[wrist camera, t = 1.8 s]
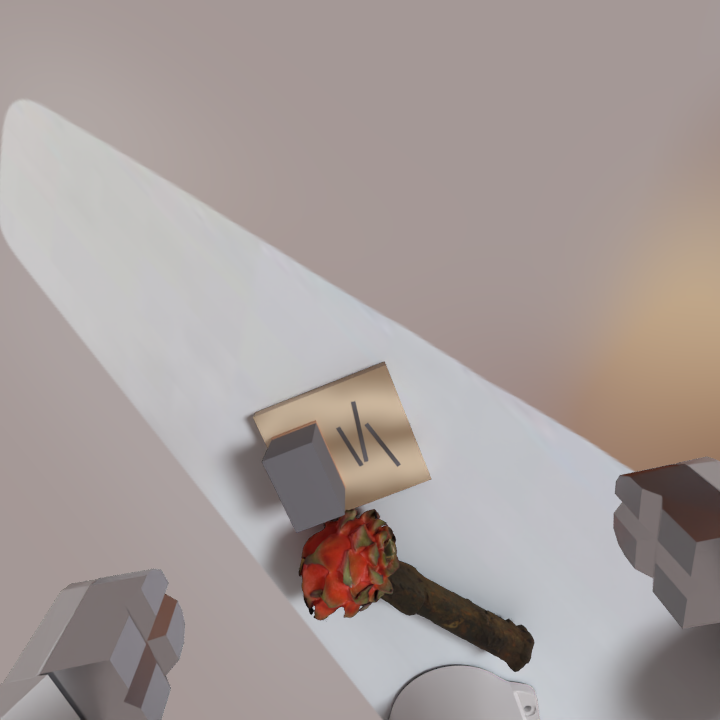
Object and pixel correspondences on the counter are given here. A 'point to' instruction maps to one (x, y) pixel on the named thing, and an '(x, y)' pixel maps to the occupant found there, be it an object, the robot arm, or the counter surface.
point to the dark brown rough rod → (459, 616)
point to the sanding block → (305, 476)
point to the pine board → (356, 433)
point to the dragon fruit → (348, 564)
